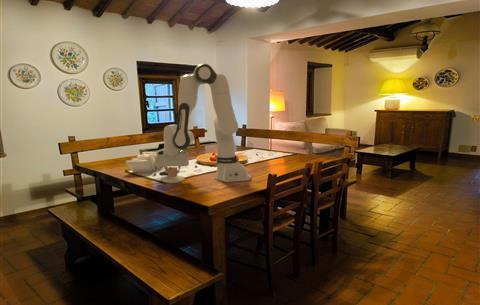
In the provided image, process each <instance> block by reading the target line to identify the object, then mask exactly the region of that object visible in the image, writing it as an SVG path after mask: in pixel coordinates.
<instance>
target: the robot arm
mask: <svg viewBox="0 0 480 305" xmlns="http://www.w3.org/2000/svg"><path fill="white" fill-rule="evenodd" d="M206 84H207V85H208V86H209V88H210V92H211V100H212V106H213V110H214V111H215V115H216V118H215V120H214V121H213V125H214V131H215V139H216V152H217V153H216V154H217V155H216V173H215V176H214V179H215V180H217V181H222V182H225V183H229V182H245V181H250V180H251V179H252V176H251V175H250V173H248V169H247V167H246V166H245V165H243V164H242V163H241V162H239V161H240V158H239V156H237V155H236V144H235V143H236V142H235V140H234V134H235V133H237V131H238V130H239V123H238V121H237V118H236V114H235V111H234V108H233V104H232V96H231V90H230V86H229V82H228V79H227V77H226V75H224V74H222V73H217V72H216V71H215V70H214V68H213V67H212V66H211V65H209V64H208V63H201V64H198V65H197V66H196V67H195V68H194V71H193V73H192V74H185V75H183V76H182V77H181V78H180V81H179V84H178V85H179V87H178V94H177V95H178V98H177V99H178V102H177V104H178V105H177V106H178V108H177V109H178V111H177V112H178V113H177V120H176V121H177V122H176V124H174V123H173V124H169V125H166V126H165V127H164V128H163V142H164V143H165V144H164V149H161V150H158V149H157V151H156V152H157V156H156V158H155V165H156V166H162V167H163V169H164V171H166V173H168V170H167V169H166V167H167V168H168V167H177V171H176V173H177V174H180V169H181V168H182V167H188V166H189V165H190V159H189V158H190V153H189V152H188V151H187V150H186V149H188V147H189V146H190V145H191V144H192V143H194V142H195V135H194V133H193V132H192V131H191V130H189V121H190V116H191V114H192V112H193V110H194V109H195V108H196V105H197V102H198V92H199V87H200V85H206Z"/></svg>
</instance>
